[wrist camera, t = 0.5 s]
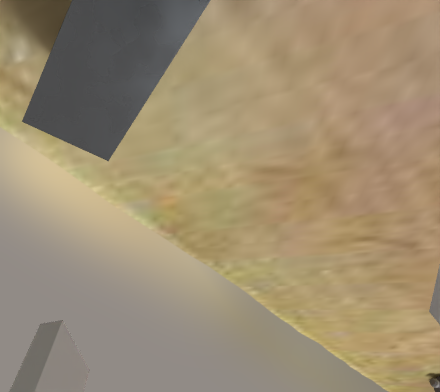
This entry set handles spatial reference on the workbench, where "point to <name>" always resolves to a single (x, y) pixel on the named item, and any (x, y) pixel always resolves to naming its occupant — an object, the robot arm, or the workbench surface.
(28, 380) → the robot arm
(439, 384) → the hydraulic cylinder
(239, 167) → the workbench surface
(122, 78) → the stand
